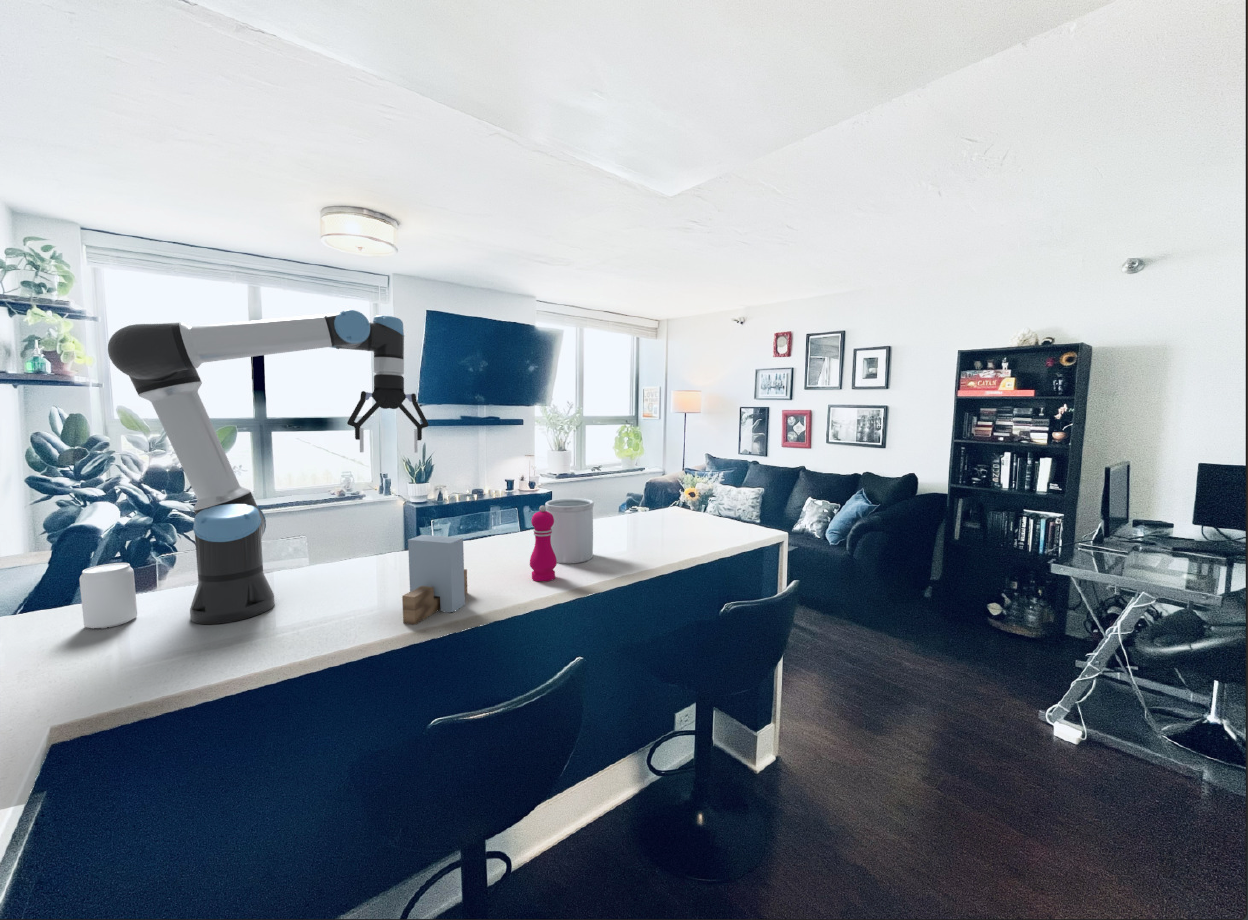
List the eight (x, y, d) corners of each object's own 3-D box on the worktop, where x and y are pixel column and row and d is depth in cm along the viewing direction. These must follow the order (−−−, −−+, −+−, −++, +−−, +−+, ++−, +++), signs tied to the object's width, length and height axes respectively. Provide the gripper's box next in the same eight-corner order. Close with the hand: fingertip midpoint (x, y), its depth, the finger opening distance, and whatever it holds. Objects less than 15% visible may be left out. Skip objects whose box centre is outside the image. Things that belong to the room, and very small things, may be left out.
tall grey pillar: (410, 607, 119) (408, 539, 117) (424, 600, 124) (422, 534, 122) (452, 613, 116) (450, 543, 115) (464, 605, 121) (463, 537, 119)
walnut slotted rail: (415, 624, 110) (414, 597, 109) (403, 623, 111) (402, 595, 110) (467, 592, 129) (466, 569, 128) (456, 591, 130) (456, 568, 129)
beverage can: (145, 613, 115) (140, 560, 114) (125, 627, 108) (120, 571, 107) (98, 618, 112) (92, 564, 111) (74, 633, 105) (69, 575, 104)
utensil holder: (544, 565, 152) (543, 506, 151) (547, 551, 167) (546, 497, 166) (594, 564, 154) (594, 505, 152) (593, 550, 168) (593, 497, 167)
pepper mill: (538, 584, 135) (537, 509, 134) (525, 577, 141) (524, 505, 139) (561, 578, 140) (561, 505, 138) (547, 572, 146) (547, 502, 144)
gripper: (436, 378, 150) (436, 451, 151) (338, 373, 140) (339, 451, 141) (438, 376, 143) (438, 453, 144) (335, 370, 133) (336, 452, 135)
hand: (389, 452), depth 143 cm, fingers open, 13 cm apart
